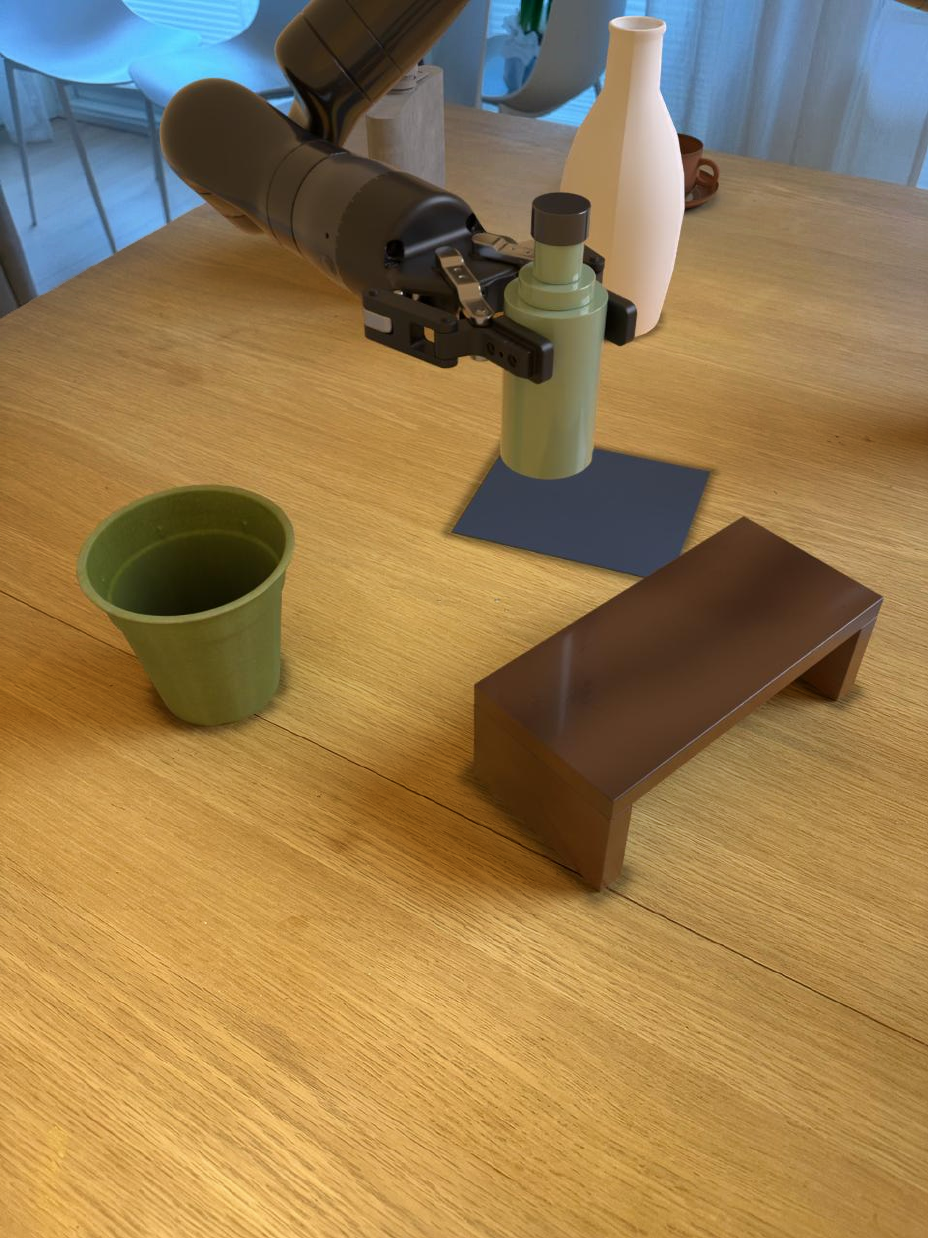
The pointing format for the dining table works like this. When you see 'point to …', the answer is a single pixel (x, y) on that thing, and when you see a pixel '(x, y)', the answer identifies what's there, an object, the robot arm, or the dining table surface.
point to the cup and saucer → (696, 172)
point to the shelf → (660, 684)
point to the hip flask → (411, 125)
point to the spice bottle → (556, 345)
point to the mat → (591, 512)
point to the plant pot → (196, 594)
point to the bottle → (631, 170)
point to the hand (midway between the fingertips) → (590, 344)
